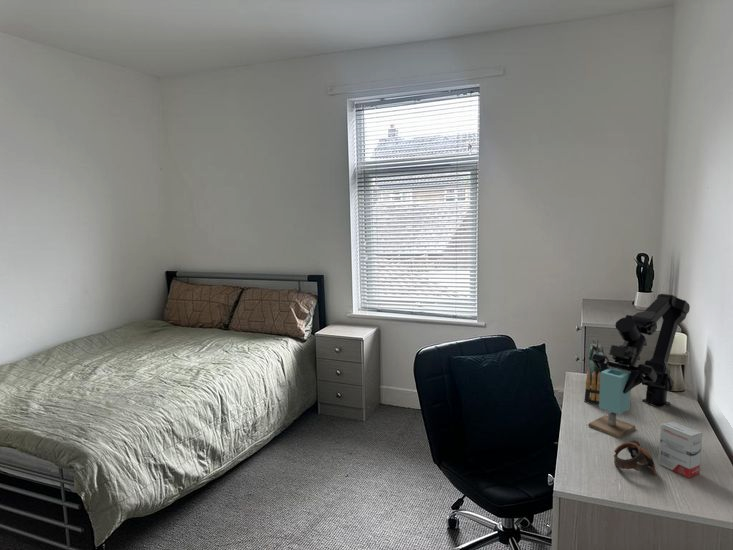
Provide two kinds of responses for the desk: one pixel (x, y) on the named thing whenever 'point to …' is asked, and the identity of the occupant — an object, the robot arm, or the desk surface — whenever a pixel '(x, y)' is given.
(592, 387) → the ammunition clip
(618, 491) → the desk surface
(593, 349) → the green lumpy upright piece
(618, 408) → the teal square planter
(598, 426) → the peg plate
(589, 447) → the desk surface
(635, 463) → the brown ridged hollow part
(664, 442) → the ink box
